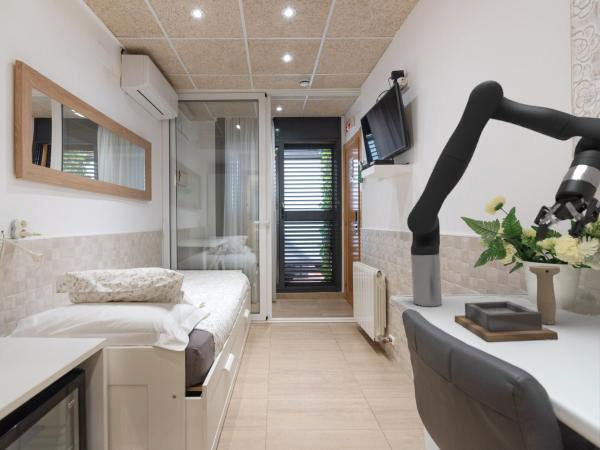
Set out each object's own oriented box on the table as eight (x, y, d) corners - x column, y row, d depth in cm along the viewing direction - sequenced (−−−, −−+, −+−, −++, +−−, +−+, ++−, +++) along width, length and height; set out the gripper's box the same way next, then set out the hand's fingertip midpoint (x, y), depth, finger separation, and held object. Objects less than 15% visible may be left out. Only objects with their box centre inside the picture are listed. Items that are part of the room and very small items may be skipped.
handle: (565, 327, 79) (562, 268, 79) (535, 325, 82) (532, 268, 82) (559, 321, 83) (556, 265, 84) (530, 319, 86) (527, 265, 86)
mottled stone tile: (475, 311, 84) (474, 308, 84) (506, 310, 84) (506, 307, 84) (493, 321, 76) (493, 318, 76) (528, 319, 76) (528, 316, 76)
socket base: (454, 321, 88) (453, 301, 88) (512, 318, 88) (510, 299, 88) (487, 342, 72) (486, 318, 72) (557, 339, 72) (556, 315, 72)
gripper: (542, 184, 89) (520, 231, 86) (598, 171, 75) (574, 226, 72) (561, 199, 90) (539, 246, 87) (620, 189, 76) (597, 244, 73)
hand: (555, 237), depth 80 cm, fingers open, 8 cm apart
